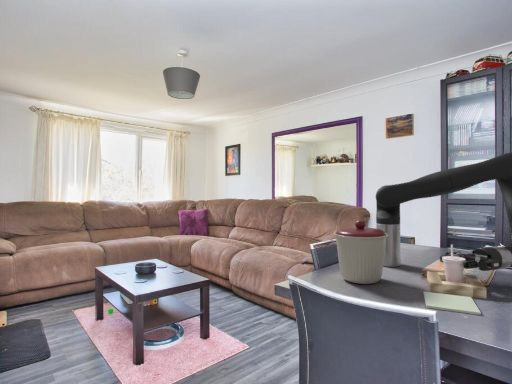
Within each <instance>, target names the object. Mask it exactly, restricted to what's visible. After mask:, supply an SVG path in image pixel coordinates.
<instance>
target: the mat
mask: <svg viewBox="0 0 512 384" xmlns="http://www.w3.org/2000/svg"><path fill="white" fill-rule="evenodd" d="M423 298H424V302H425V306H426V307H425V308H427V309H432V310H433V309H434V310H440V311H441V310H442V311H448V312H453V313H454V312H456V313H462V314H469V315H470V314H471V315H477V316H482V312H481V310H480V309H479V307H478V306H477V305H476V303H475V301H474V300H473V297H466V296H457V295H449V294H440V293H432V292H430V291H423Z"/></svg>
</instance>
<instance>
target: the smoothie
mask: <svg viewBox="0 0 512 384" xmlns="http://www.w3.org/2000/svg"><path fill="white" fill-rule="evenodd" d="M450 252H451V256H444V257H442V261H443V262H442V263H443V271H444V273H445V277H446V281H447V282H457V283H462V278H463V274H464V269H465V268H464V265H463V263H464V261H466V259H464V258H461V257H455V256H453V252H454V244H450Z"/></svg>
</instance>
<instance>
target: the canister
mask: <svg viewBox="0 0 512 384" xmlns="http://www.w3.org/2000/svg"><path fill="white" fill-rule="evenodd" d="M333 235H334V236H335V241H336V242H335V243H336V249H337V256H338V257H337V259H338V264H339V271H340V275H341V277H342V278H343V279H344V280H346V282H350V283H354V284H360V285H371V284H376V283H378V282H379V281H380V280H381V279H382V276H383V270H384V266H383V263H384V254H385V245H386V237H388V234H387V233H385V232H384V231H382V230H380V229H376V227H375V228H374V227H367V226H366V222H365V221H364V220H363V219H361V220H360V219H359V220H356V221H355V222H354V227H353V226H352V227H343V228H342V227H341V228H339V229H337V230H336V231H333Z"/></svg>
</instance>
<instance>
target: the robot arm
mask: <svg viewBox="0 0 512 384" xmlns="http://www.w3.org/2000/svg"><path fill="white" fill-rule="evenodd" d="M494 180H496V182H497V184H498V187H499V191H500V192H501V194H502V198H503V203H504V207H505V210H506V211H505V212H506V217H507V223H508V227H509V230H510V231H509V232H510V235H512V151H511V152H505V153H502V154H499V155H498V156H495V157H492V158H489V159H486V160H483V161H479V162H477V163H473V164H472V163H471V164H467V165H462V166H457V167H453V168H452V167H451V168H448V169H447V168H446V169H444V170H439V171H437V172H432V173H429V174H426V175H424V176H421V177H419V178H416V179H413V180H411V181H407V182H402V183H396V184H390V185H388V184H387V185H386V184H385V185H382V186H380V188H378V189H377V191H376V193H375V201H376V202H375V203H376V212H375V213H376V217H375V218H376V219H375V220H376V221H375V222H376V224H375V225H376V227H375V229H380V230H382V231H384V232H385V233H387V234H388V237H386V245H385V254H384V263H383V267H392V268H393V267H394V268H395V267H400V266H401V265H402V264H401V262H402V259H401V254H402V253H401V204H404V203H406V202H410V201H413V200H419V199H426V198H434V197H439V196H445V195H449V194H452V193H458V192H459V191H463V190H466V189H469V188H471V187H474V186H476V185H479V184H482V183H485V182H489V181H494ZM444 256H451V251H450V252H445V254H441V255H440V256H439V259H440V260H439V261H440V262H441V263H443V261H442V257H444ZM453 256H455V257H461V258H464V259H466V261H464V263H463V265H464V269H466V270H469V269H476V270H479V271H481V272H482V271H483V272H486V271H488V272H490V271H496V270H504V269H507V268H512V245H504V246H483V247H476V248H475V249H473V250H472V251H471V252H462V251H453Z"/></svg>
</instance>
